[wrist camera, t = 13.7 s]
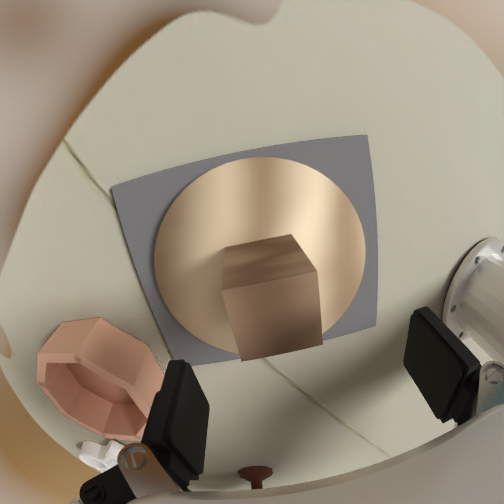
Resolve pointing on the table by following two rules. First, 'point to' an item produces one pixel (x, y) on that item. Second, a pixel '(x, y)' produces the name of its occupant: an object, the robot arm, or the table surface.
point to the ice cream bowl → (255, 475)
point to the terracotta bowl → (100, 377)
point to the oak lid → (260, 257)
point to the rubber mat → (178, 178)
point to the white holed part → (100, 454)
